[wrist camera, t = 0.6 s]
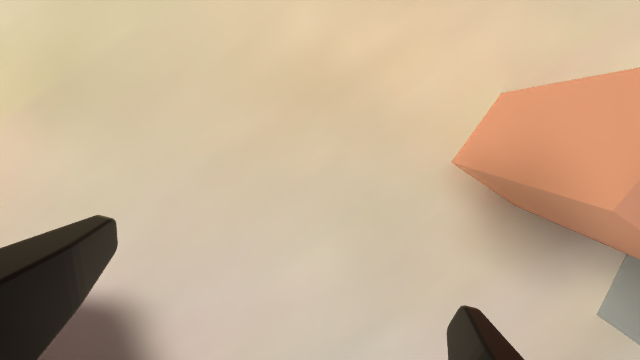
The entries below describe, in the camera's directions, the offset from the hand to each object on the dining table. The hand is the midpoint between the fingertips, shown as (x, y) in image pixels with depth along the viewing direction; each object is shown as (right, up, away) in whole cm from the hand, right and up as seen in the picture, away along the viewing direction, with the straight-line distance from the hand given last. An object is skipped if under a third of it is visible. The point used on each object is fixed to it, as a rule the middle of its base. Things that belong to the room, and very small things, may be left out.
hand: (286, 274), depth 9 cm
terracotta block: (+12, +4, +13) cm, 18 cm away
